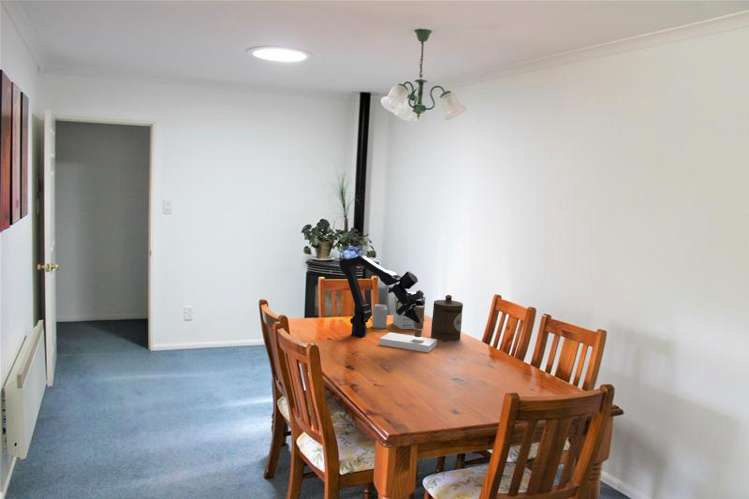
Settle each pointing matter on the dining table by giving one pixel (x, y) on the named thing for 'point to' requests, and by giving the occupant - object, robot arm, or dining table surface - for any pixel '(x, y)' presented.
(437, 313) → the wooden container
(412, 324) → the supplement box
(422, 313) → the walnut peg
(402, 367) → the dining table surface
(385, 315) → the can
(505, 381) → the dining table surface
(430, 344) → the grey board
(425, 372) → the dining table surface
